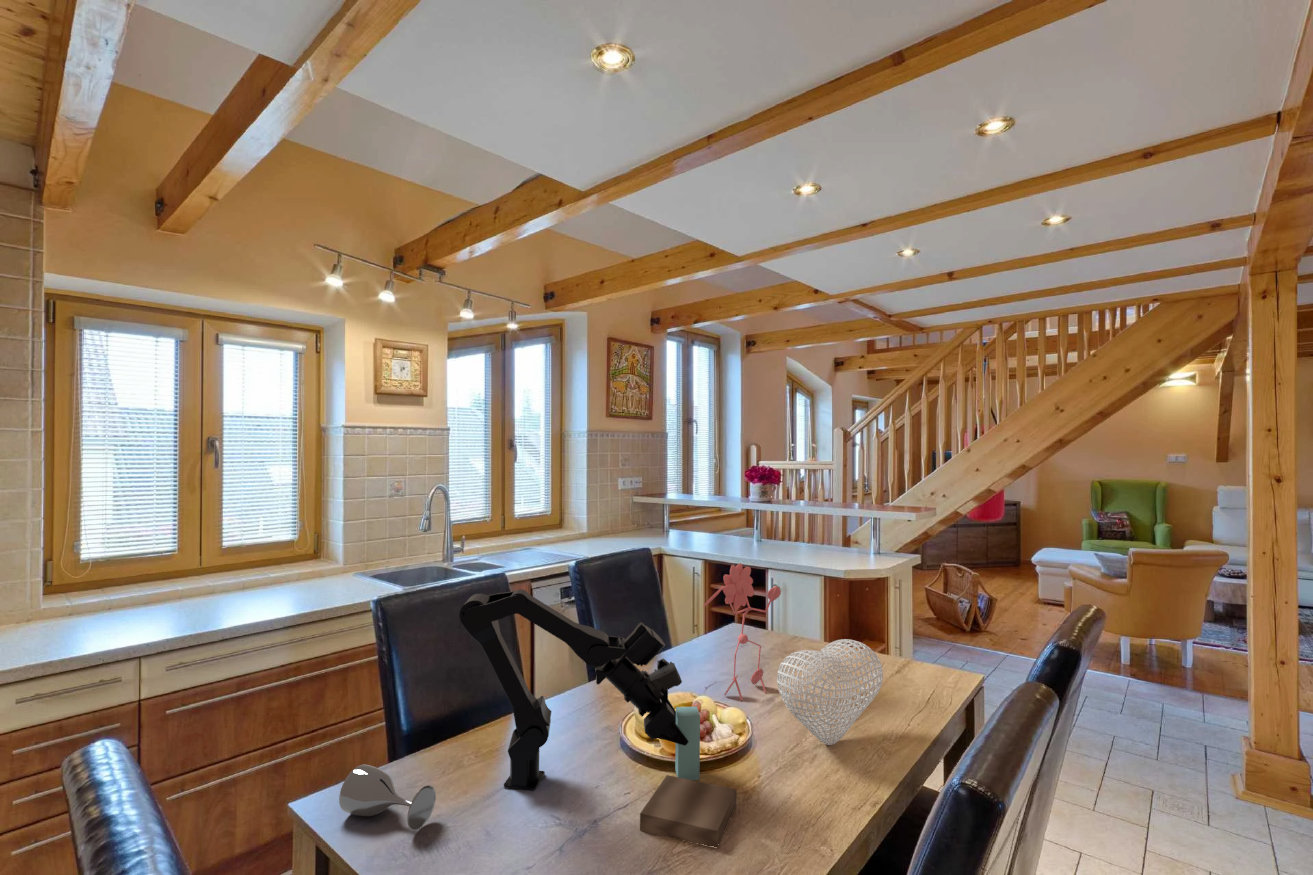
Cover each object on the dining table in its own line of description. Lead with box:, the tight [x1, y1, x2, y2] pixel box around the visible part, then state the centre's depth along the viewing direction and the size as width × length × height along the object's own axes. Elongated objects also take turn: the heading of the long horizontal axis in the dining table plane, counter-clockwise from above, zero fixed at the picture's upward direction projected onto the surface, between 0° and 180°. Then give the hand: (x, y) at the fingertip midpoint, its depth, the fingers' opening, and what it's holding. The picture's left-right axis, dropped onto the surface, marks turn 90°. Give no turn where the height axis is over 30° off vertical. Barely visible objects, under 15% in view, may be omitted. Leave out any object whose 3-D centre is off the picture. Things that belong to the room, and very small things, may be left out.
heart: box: [776, 638, 884, 746], centre depth 146 cm, size 28×16×22 cm, turn 127°
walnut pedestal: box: [639, 774, 738, 848], centre depth 117 cm, size 14×14×3 cm
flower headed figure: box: [702, 562, 782, 701], centre depth 178 cm, size 15×26×35 cm, turn 128°
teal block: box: [674, 706, 701, 781], centre depth 132 cm, size 4×4×13 cm
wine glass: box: [338, 764, 437, 832], centre depth 115 cm, size 8×8×15 cm
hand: (683, 733), depth 132 cm, fingers open, 9 cm apart
